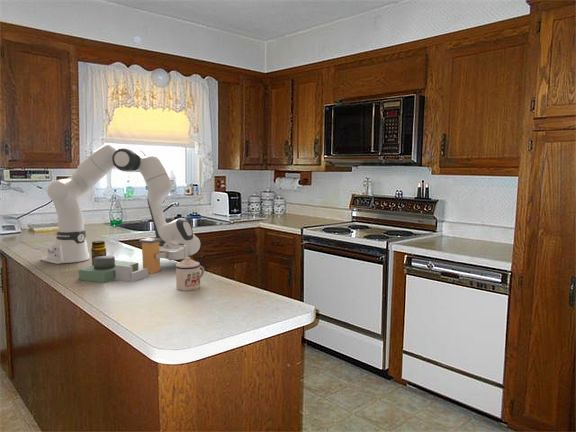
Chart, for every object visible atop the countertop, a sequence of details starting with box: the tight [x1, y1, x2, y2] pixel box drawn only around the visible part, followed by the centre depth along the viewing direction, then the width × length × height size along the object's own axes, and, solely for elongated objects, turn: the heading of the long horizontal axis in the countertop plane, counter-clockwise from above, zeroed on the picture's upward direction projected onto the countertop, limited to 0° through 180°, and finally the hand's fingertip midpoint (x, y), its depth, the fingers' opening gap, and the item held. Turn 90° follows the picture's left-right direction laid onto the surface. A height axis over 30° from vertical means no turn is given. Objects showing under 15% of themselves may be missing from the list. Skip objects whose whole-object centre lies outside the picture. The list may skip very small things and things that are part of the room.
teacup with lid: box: [174, 256, 205, 292], centre depth 168 cm, size 12×9×12 cm
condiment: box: [90, 240, 107, 266], centre depth 197 cm, size 7×8×12 cm
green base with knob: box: [77, 255, 149, 284], centre depth 183 cm, size 22×19×8 cm
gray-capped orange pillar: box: [138, 237, 162, 274], centre depth 191 cm, size 6×6×14 cm
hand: (149, 255), depth 191 cm, fingers closed on gray-capped orange pillar, 5 cm apart
